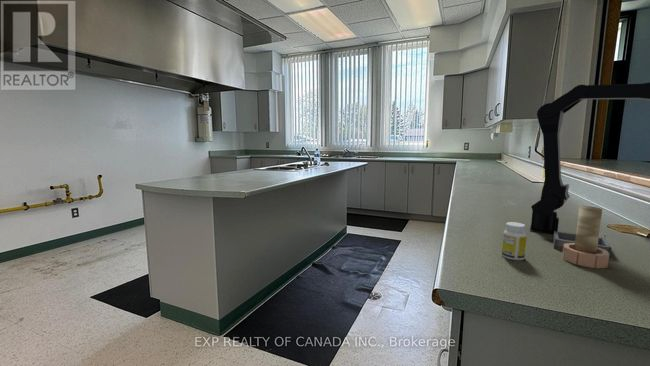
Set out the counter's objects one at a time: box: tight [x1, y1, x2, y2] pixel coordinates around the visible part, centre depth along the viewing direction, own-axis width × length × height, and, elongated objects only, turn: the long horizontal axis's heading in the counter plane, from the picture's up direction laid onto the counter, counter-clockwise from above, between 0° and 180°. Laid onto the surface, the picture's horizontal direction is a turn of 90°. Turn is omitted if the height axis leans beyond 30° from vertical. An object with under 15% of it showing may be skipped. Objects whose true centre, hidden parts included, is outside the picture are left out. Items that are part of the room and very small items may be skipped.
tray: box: [552, 230, 613, 258], centre depth 79 cm, size 11×9×2 cm
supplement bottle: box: [501, 221, 527, 261], centre depth 73 cm, size 5×5×8 cm
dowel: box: [574, 205, 603, 254], centre depth 70 cm, size 4×4×13 cm
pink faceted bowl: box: [561, 243, 610, 269], centre depth 71 cm, size 8×8×3 cm
